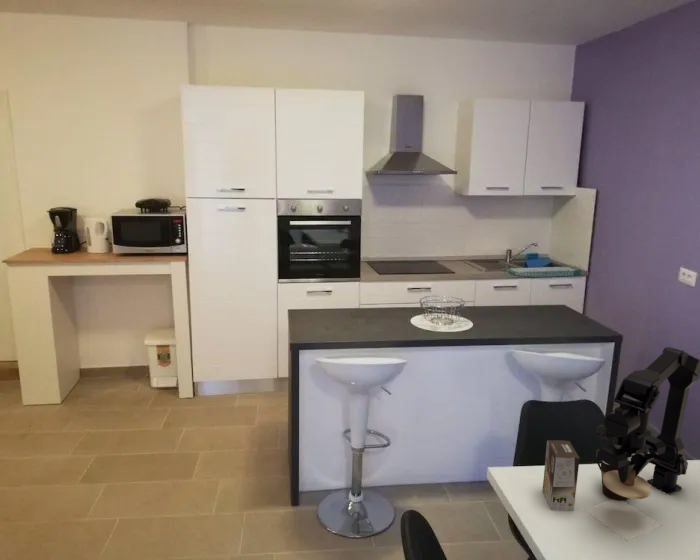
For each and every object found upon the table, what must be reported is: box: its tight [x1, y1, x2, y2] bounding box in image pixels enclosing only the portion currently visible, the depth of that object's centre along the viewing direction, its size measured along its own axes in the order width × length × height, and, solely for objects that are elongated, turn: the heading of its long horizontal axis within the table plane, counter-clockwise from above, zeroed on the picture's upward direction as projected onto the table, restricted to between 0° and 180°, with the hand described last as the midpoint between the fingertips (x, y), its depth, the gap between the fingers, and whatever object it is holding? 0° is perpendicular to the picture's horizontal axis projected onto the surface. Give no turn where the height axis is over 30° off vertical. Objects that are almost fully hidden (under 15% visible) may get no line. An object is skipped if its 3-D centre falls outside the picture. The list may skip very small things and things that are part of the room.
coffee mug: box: [596, 457, 628, 502], centre depth 152 cm, size 12×9×10 cm
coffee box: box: [542, 439, 581, 512], centre depth 146 cm, size 9×6×16 cm
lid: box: [603, 469, 652, 500], centre depth 138 cm, size 11×11×4 cm
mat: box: [584, 499, 663, 541], centre depth 141 cm, size 13×13×1 cm
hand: (627, 480), depth 138 cm, fingers closed on lid, 3 cm apart
